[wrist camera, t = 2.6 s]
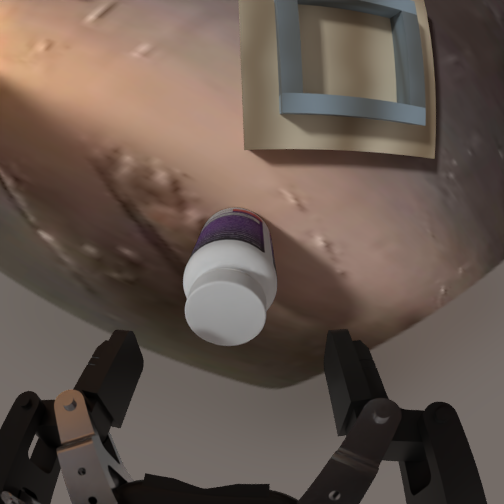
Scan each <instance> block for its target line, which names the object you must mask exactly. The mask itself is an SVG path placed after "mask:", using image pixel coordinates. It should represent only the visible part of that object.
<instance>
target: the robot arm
mask: <svg viewBox="0 0 504 504" xmlns="http://www.w3.org/2000/svg"><path fill="white" fill-rule="evenodd" d="M142 370H143V356H142V354H141V351H140V348H139V345H138V343H137V340H136V337H135V334H134V333H133V331H126V330H115V331H114V332H113V334H112V335H111V337H110V339H109V341H107V340H106V341H104V342H103V343H102V344H101V345H100V346H98V347H97V349H96V350H95V352H94V354H93V355H92V358H91V359H90V361H89V362H88V365H87V366H86V368H85V369H84V371H83V373H82V375H81V377H80V378H79V380H78V382H77V384H76V385H75V387H74V389H73V390H66V391H64V392H62V393H61V394H59V395H58V396H57V398H56V400H41V399H40V398H39V397H38V396H37V394H36V393H34V392H32V391H27V392H24V393H22V394H20V395H19V396H18V397H17V399H16V400H15V402H14V404H13V406H12V408H11V409H10V411H9V413H8V415H7V417H6V419H5V421H4V423H3V425H2V427H1V429H0V504H50V503H51V499H52V495H53V491H54V488H55V485H56V482H57V479H58V475H59V472H60V469H61V471H62V474H63V478H64V481H65V484H66V487H67V490H68V493H69V496H70V499H71V502H72V504H359V503H360V502H361V500H362V499H363V497H364V495H365V494H366V492H367V490H368V488H369V487H370V485H371V483H372V481H373V480H374V478H375V476H376V474H377V472H378V470H379V468H378V467H379V465H380V462H381V461H382V460H386V461H399V466H400V471H401V476H402V480H403V485H404V492H405V497H406V503H407V504H487V501H486V498H485V494H484V490H483V487H482V483H481V480H480V476H479V473H478V470H477V467H476V463H475V460H474V457H473V454H472V452H471V449H470V446H469V443H468V441H467V438H466V435H465V433H464V430H463V427H462V425H461V422H460V420H459V417H458V415H457V412H456V411H455V409H454V408H453V407H452V406H451V405H449V404H448V403H445V402H434V403H432V404H430V405H429V406H428V407H427V408H426V409H425V411H420V410H405V409H401V408H399V406H398V405H397V404H396V403H395V402H393V401H391V400H389V399H388V397H387V394H386V392H385V389H384V386H383V384H382V381H381V378H380V376H379V373H378V371H377V368H376V366H375V363H374V361H373V360H372V356H371V353H370V351H369V348H368V347H367V346H366V345H365V344H363V343H362V342H361V341H360V340H358V341H352V339H351V336H350V334H349V331H348V330H347V329H340V330H329V331H328V335H327V342H326V348H325V355H324V371H325V375H326V380H327V385H328V389H329V394H330V399H331V403H332V408H333V413H334V418H335V423H336V428H337V434H338V436H344V435H346V438H345V440H344V441H343V443H342V445H341V446H340V447H339V449H338V450H337V451H336V452H335V453H334V454H333V455H332V457H331V459H330V460H329V461H328V463H327V464H326V465H325V467H324V468H323V470H322V471H321V473H320V474H319V475H318V476H317V478H316V479H315V480H314V482H313V483H312V484H311V486H310V487H309V488H308V490H307V491H306V492H305V493H304V495H303V496H302V497H301V498H300V499H299V500H297V499H295V498H293V497H291V496H289V495H287V494H284V493H281V492H277V491H272V490H269V484H235V485H229V486H223V487H216V488H209V489H203V488H199V487H196V486H193V485H190V484H187V483H185V482H182V481H179V480H177V479H174V478H168V477H162V476H156V475H151V474H145V477H144V480H137V481H133V479H132V478H131V476H130V474H129V473H128V472H127V470H126V469H125V467H124V465H123V462H122V461H121V458H120V456H119V454H118V451H117V449H116V446H115V444H114V442H113V439H112V437H111V434H110V433H109V430H110V427H111V426H112V427H117V428H121V425H122V423H123V420H124V417H125V415H126V412H127V409H128V406H129V404H130V401H131V398H132V396H133V393H134V391H135V388H136V385H137V383H138V380H139V378H140V375H141V372H142ZM35 434H36V435H37V436H38V437H39V439H38V441H37V443H36V446H35V448H34V450H33V453H32V456H31V458H30V459H29V457H28V450H29V447H30V445H31V442H32V440H33V438H34V435H35Z"/></svg>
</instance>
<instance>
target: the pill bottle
mask: <svg viewBox="0 0 504 504" xmlns="http://www.w3.org/2000/svg"><path fill="white" fill-rule="evenodd" d="M183 287H184V292H185V295H186V298H187V301H186V304H185V317H186V320H187V323H188V325H189V326H190V328H191V329H192V330H193V332H194V333H195V334H197V335H198V336H199V337H200V338H202V339H204V340H206V341H208V342H210V343H213V344H216V345H222V346H234V345H240V344H243V343H246V342H248V341H250V340H252V339H253V338H255V337H256V336H257V335H258V334H259V333H260V332H261V330H262V329H263V327H264V324H265V321H266V311H267V310H268V309H269V307H270V306H271V304H272V303H273V301H274V298H275V296H276V292H277V274H276V267H275V260H274V253H273V246H272V240H271V235H270V232H269V229H268V227H267V225H266V223H265V222H264V221H263V220H262V219H261V218H260V217H259V216H258V215H257V214H255V213H254V212H252V211H250V210H247V209H244V208H227V209H224V210H221V211H219V212H217V213H215V214H214V215H213V216H212V217H210V218H209V220H208V221H207V222H206V224H205V225H204V227H203V229H202V231H201V234H200V236H199V238H198V240H197V243H196V245H195V247H194V250H193V252H192V254H191V256H190V258H189V261H188V263H187V265H186V268H185V271H184V276H183Z"/></svg>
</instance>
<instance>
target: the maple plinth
mask: <svg viewBox="0 0 504 504" xmlns="http://www.w3.org/2000/svg"><path fill="white" fill-rule="evenodd" d="M239 24H240V51H241V78H242V104H243V129H244V150H259V149H321V150H346V151H363V152H377V153H388V154H399V155H408V156H417V157H424V158H432V159H435V139H436V95H435V76H434V64H433V54H432V45H431V37H430V31H429V24H428V19H427V13H426V8H425V3H424V0H239Z"/></svg>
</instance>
